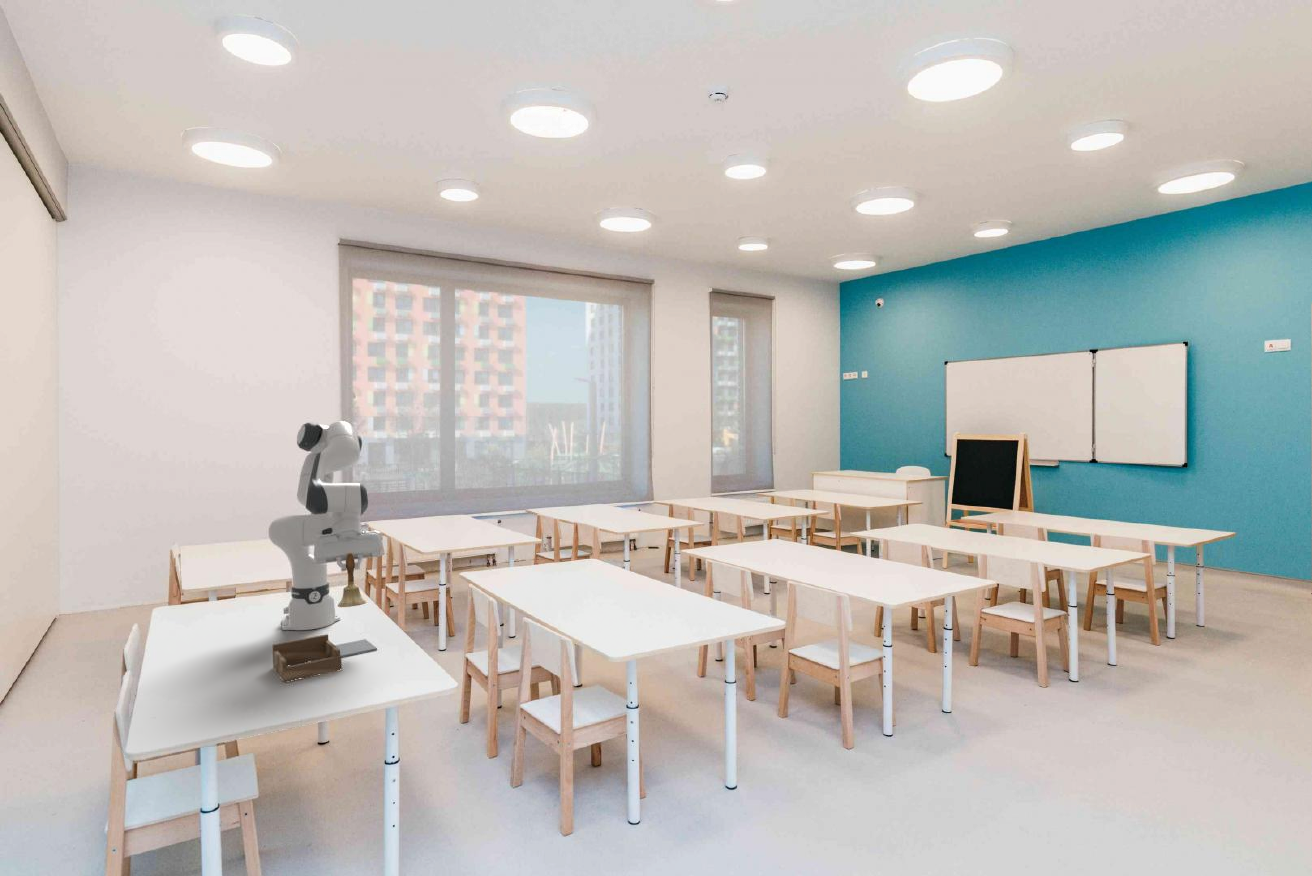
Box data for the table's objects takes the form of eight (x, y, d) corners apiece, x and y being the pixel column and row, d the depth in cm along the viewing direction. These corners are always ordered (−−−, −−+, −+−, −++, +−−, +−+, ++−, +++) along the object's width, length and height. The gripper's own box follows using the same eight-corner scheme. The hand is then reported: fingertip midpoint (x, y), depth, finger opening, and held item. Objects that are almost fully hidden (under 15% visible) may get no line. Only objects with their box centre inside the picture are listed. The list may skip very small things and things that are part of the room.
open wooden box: (273, 668, 208) (272, 644, 208) (328, 656, 217) (327, 634, 217) (284, 682, 196) (283, 657, 196) (341, 670, 205) (340, 646, 205)
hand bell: (355, 601, 228) (352, 551, 228) (372, 602, 224) (368, 551, 224) (332, 606, 221) (328, 555, 221) (348, 608, 217) (344, 555, 217)
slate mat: (326, 648, 225) (326, 647, 225) (365, 641, 232) (365, 639, 232) (336, 658, 215) (336, 656, 215) (377, 650, 223) (377, 648, 223)
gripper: (381, 536, 237) (385, 570, 229) (313, 543, 229) (315, 579, 220) (381, 524, 233) (386, 559, 225) (312, 531, 224) (314, 568, 216)
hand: (350, 569), depth 222 cm, fingers closed on hand bell, 2 cm apart
